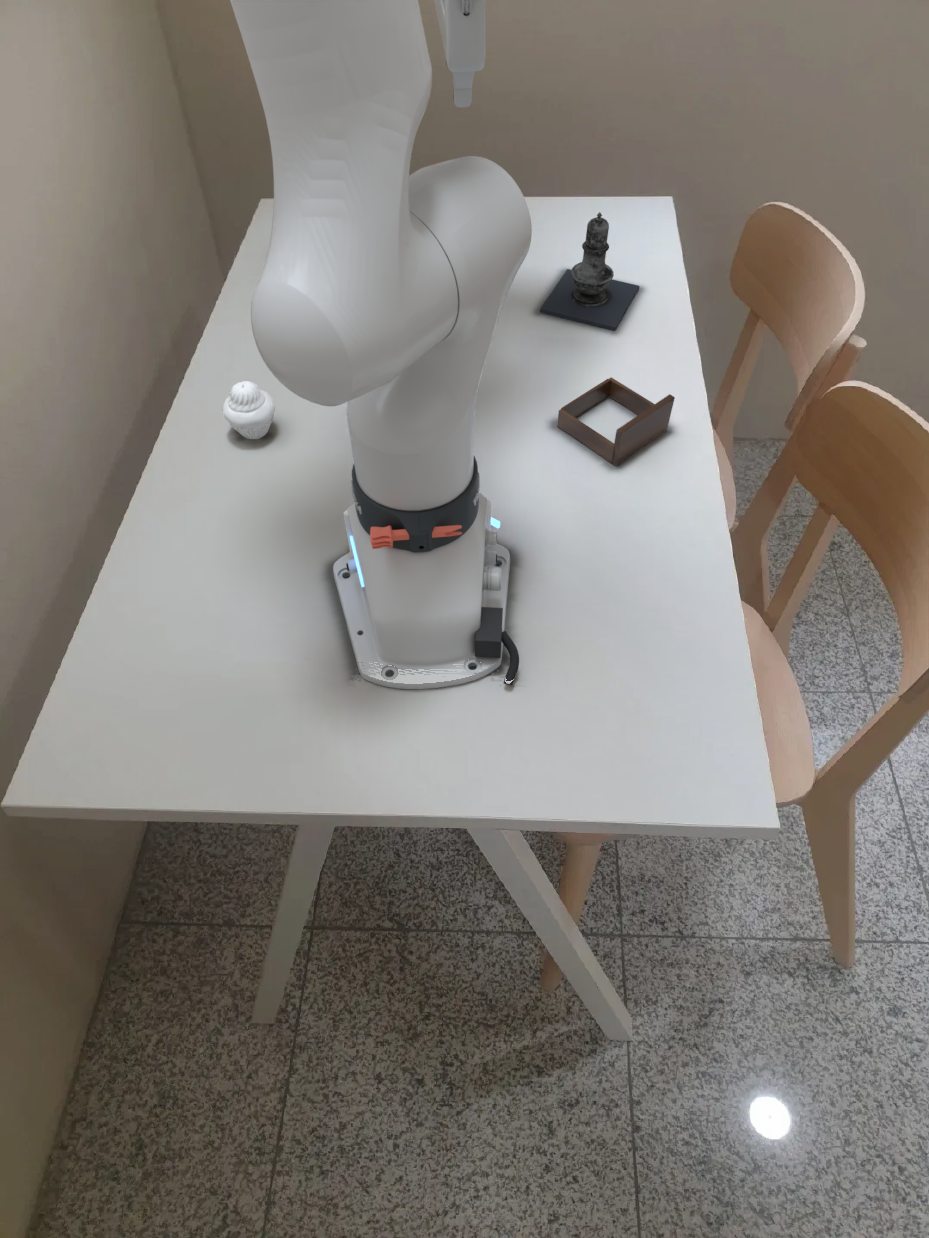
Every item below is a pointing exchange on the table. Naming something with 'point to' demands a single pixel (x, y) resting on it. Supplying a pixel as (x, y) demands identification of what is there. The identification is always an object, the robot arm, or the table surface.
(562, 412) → the wooden square frame
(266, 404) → the muffin
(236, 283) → the table surface
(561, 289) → the mat
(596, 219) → the dark grey chess piece
